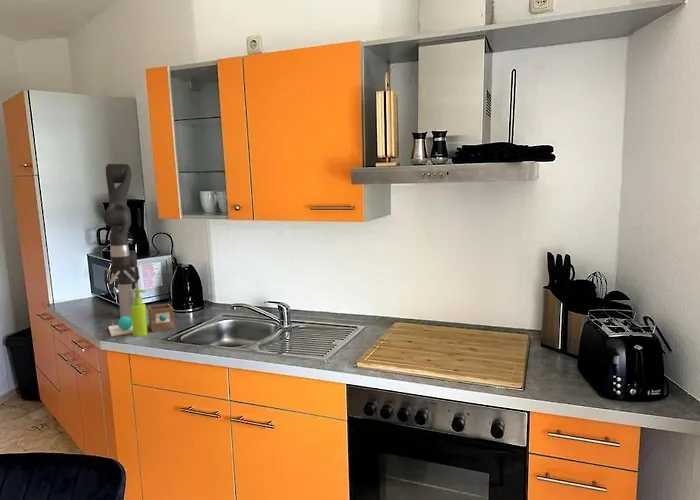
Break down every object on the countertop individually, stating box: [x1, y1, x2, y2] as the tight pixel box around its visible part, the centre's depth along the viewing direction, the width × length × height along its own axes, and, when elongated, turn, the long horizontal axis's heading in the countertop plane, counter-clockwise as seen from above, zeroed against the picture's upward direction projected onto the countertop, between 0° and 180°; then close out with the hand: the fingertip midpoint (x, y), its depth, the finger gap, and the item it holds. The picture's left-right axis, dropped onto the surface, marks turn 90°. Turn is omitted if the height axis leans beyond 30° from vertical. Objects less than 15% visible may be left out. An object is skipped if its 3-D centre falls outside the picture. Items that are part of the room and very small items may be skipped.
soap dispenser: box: [131, 289, 148, 337], centre depth 218 cm, size 6×7×20 cm
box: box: [147, 303, 175, 333], centre depth 227 cm, size 10×9×10 cm
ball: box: [117, 316, 132, 330], centre depth 225 cm, size 6×6×6 cm
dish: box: [108, 324, 133, 337], centre depth 226 cm, size 13×13×1 cm
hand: (122, 290), depth 223 cm, fingers open, 8 cm apart
